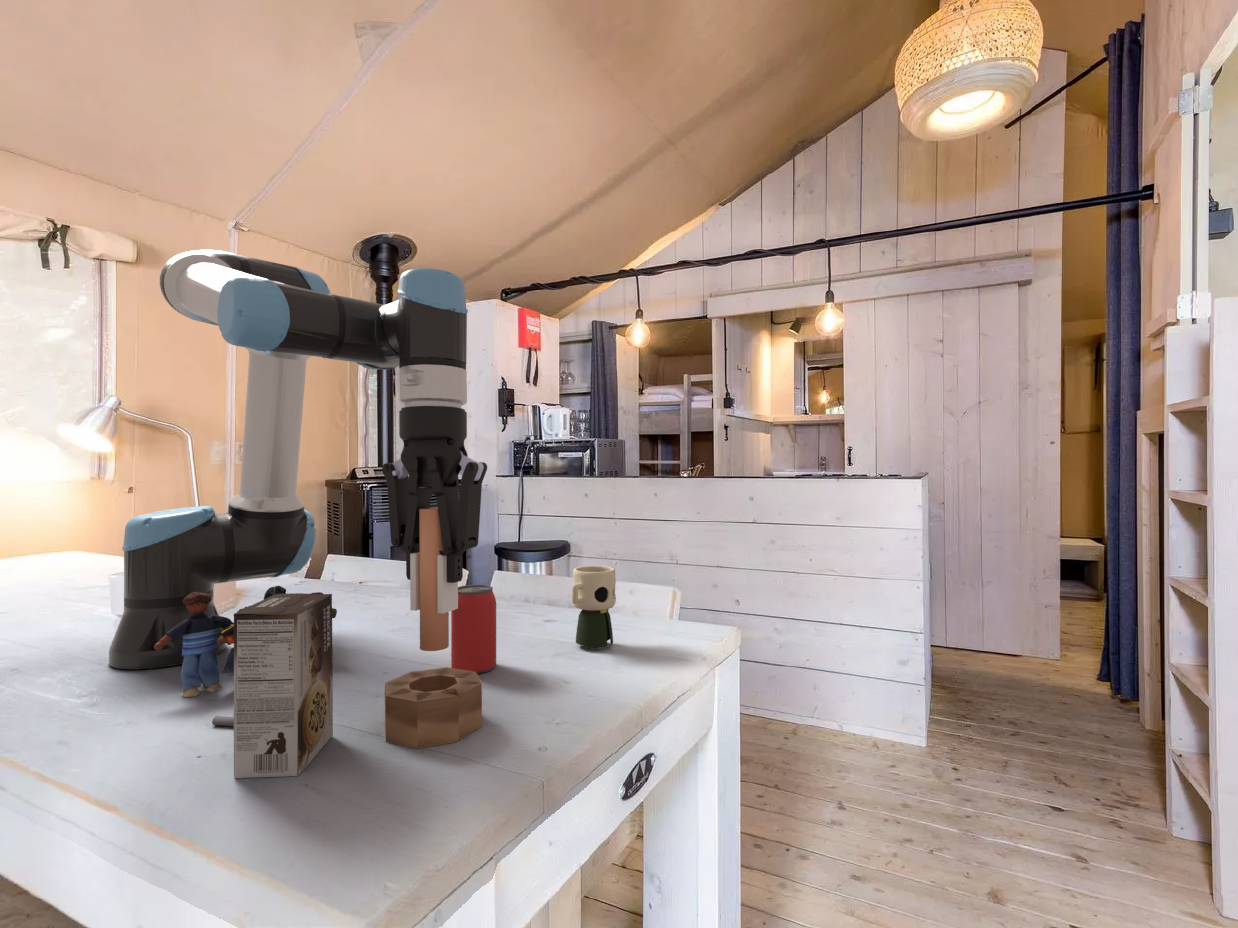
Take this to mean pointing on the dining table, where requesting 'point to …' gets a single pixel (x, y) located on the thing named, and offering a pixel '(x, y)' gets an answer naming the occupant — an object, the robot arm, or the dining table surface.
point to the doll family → (206, 643)
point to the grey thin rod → (223, 721)
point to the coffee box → (282, 684)
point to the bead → (432, 707)
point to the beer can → (474, 629)
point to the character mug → (594, 604)
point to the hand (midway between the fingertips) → (434, 608)
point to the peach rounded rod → (431, 584)
